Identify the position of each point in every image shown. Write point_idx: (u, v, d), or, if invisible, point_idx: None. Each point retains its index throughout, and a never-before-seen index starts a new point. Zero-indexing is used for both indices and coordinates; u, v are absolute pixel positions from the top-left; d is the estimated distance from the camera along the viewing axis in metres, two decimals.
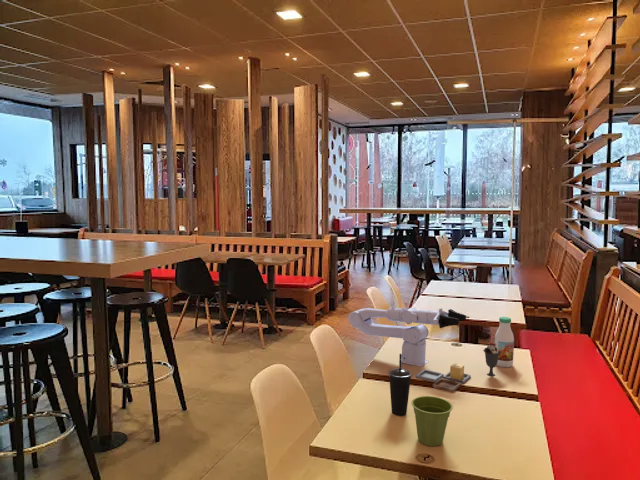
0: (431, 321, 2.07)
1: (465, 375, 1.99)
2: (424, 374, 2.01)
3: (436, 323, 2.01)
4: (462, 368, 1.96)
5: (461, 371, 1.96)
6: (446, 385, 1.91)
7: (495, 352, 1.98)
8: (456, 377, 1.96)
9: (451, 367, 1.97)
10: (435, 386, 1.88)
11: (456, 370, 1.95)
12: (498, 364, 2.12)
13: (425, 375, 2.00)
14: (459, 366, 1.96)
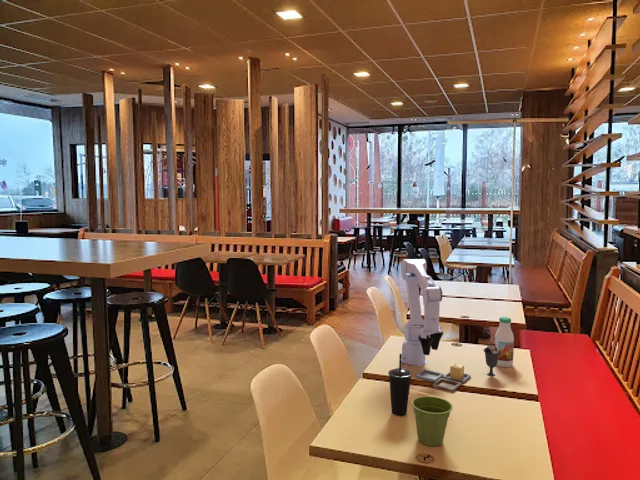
0: (426, 323, 1.95)
1: (465, 375, 1.99)
2: (424, 374, 2.01)
3: (421, 336, 1.92)
4: (462, 368, 1.96)
5: (461, 371, 1.96)
6: (446, 385, 1.91)
7: (495, 352, 1.98)
8: (456, 377, 1.96)
9: (451, 367, 1.97)
10: (435, 386, 1.88)
11: (456, 370, 1.95)
12: (498, 364, 2.12)
13: (425, 375, 2.00)
14: (459, 366, 1.96)
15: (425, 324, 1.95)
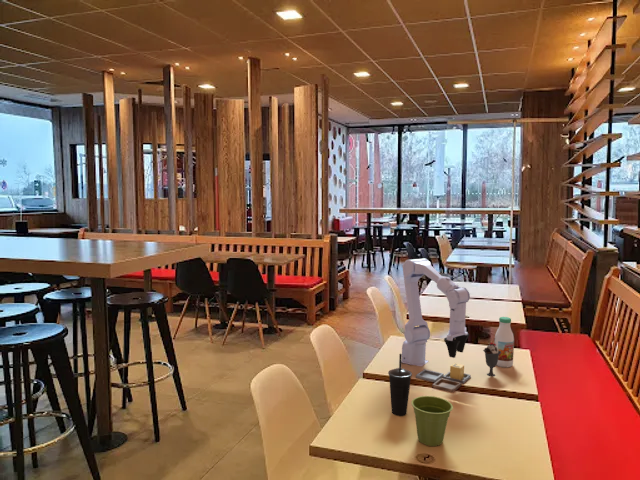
0: (452, 325, 1.93)
1: (465, 375, 1.99)
2: (424, 374, 2.01)
3: (448, 339, 1.89)
4: (462, 368, 1.96)
5: (461, 371, 1.96)
6: (446, 385, 1.91)
7: (495, 352, 1.98)
8: (456, 377, 1.96)
9: (451, 367, 1.97)
10: (435, 386, 1.88)
11: (456, 370, 1.95)
12: (498, 364, 2.12)
13: (425, 375, 2.00)
14: (459, 366, 1.96)
15: (451, 326, 1.93)
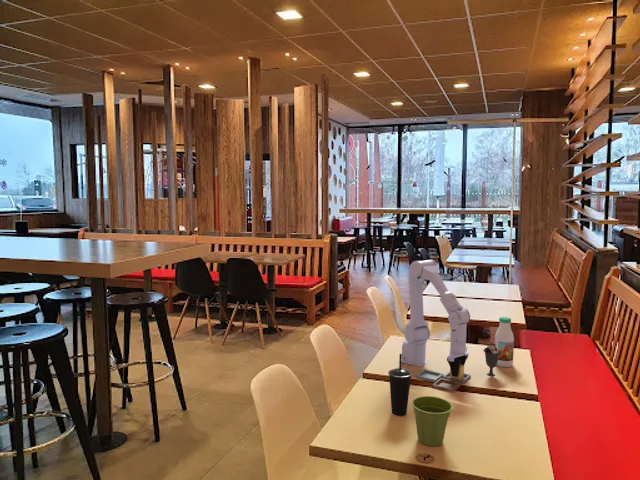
0: (452, 345, 1.95)
1: (465, 375, 1.99)
2: (424, 374, 2.01)
3: (449, 359, 1.91)
4: (462, 368, 1.96)
5: (461, 371, 1.96)
6: (446, 385, 1.91)
7: (495, 352, 1.98)
8: (456, 377, 1.96)
9: None
10: (435, 386, 1.88)
11: None
12: (498, 364, 2.12)
13: (425, 375, 2.00)
14: None
15: (452, 347, 1.95)
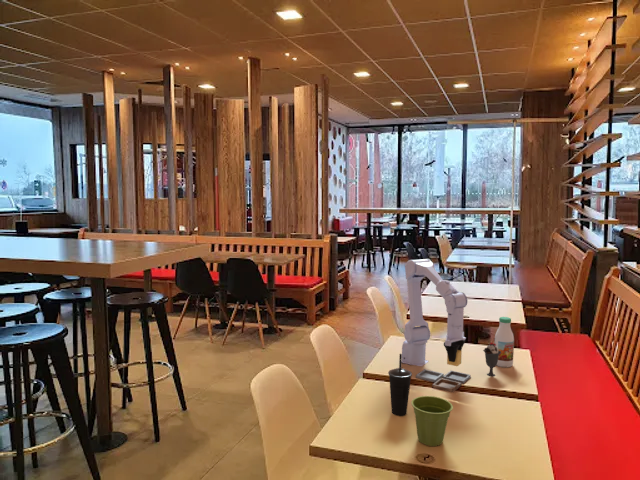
0: (449, 330, 1.91)
1: (465, 375, 1.99)
2: (424, 374, 2.01)
3: (446, 344, 1.87)
4: (459, 353, 1.92)
5: (458, 356, 1.92)
6: (446, 385, 1.91)
7: (495, 352, 1.98)
8: (453, 362, 1.92)
9: None
10: (435, 386, 1.88)
11: None
12: (498, 364, 2.12)
13: (425, 375, 2.00)
14: None
15: (449, 331, 1.91)
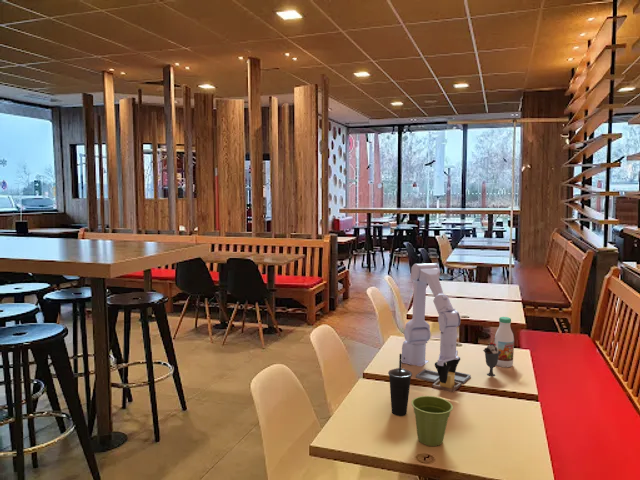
0: (442, 349, 1.87)
1: (465, 375, 1.99)
2: (424, 374, 2.01)
3: (438, 364, 1.83)
4: (452, 376, 1.88)
5: (451, 379, 1.88)
6: None
7: (495, 352, 1.98)
8: (446, 385, 1.88)
9: None
10: (435, 386, 1.88)
11: None
12: (498, 364, 2.12)
13: (425, 375, 2.00)
14: (449, 374, 1.88)
15: (442, 350, 1.87)
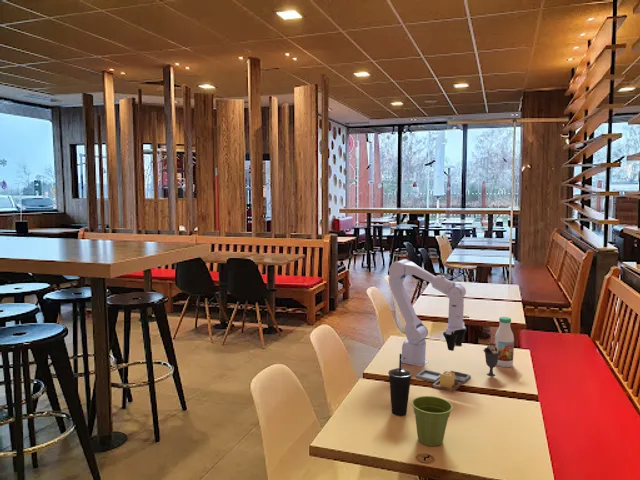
0: (450, 319, 2.04)
1: (465, 375, 1.99)
2: (424, 374, 2.01)
3: (446, 332, 2.00)
4: (452, 376, 1.88)
5: (451, 379, 1.88)
6: None
7: (495, 352, 1.98)
8: (446, 385, 1.88)
9: (441, 375, 1.88)
10: (435, 386, 1.88)
11: (446, 378, 1.87)
12: (498, 364, 2.12)
13: (425, 375, 2.00)
14: (449, 374, 1.88)
15: (450, 321, 2.04)
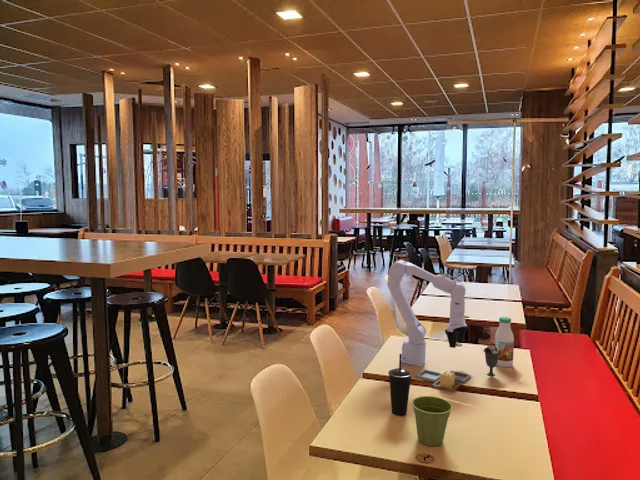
0: (452, 317, 2.07)
1: (465, 375, 1.99)
2: (424, 374, 2.01)
3: (448, 330, 2.04)
4: (452, 376, 1.88)
5: (451, 379, 1.88)
6: None
7: (495, 352, 1.98)
8: (446, 385, 1.88)
9: (441, 375, 1.88)
10: (435, 386, 1.88)
11: (446, 378, 1.87)
12: (498, 364, 2.12)
13: (425, 375, 2.00)
14: (449, 374, 1.88)
15: (451, 318, 2.08)
